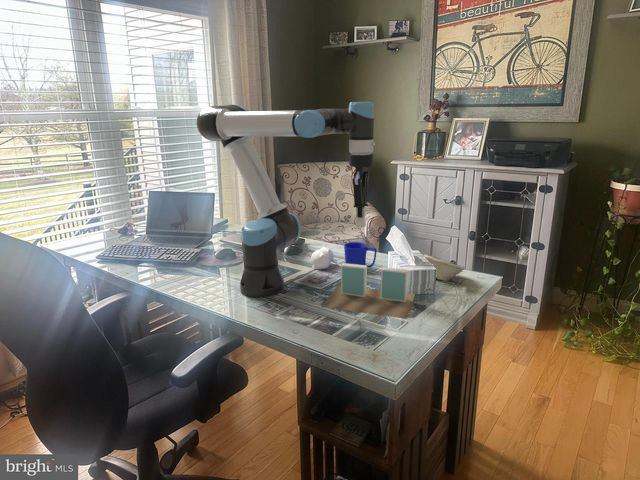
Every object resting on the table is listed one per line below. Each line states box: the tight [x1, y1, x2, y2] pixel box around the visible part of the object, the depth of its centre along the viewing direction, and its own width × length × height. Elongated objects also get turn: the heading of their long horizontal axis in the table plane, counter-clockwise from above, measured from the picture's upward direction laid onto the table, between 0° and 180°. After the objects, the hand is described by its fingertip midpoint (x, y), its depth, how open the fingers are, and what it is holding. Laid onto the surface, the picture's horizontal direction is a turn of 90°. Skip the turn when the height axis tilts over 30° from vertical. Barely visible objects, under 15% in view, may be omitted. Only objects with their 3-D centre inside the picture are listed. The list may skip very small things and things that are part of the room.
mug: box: [343, 241, 378, 268], centre depth 167 cm, size 8×12×10 cm
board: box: [321, 284, 416, 319], centre depth 141 cm, size 26×18×1 cm
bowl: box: [422, 253, 465, 282], centre depth 158 cm, size 15×14×10 cm
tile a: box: [340, 262, 368, 297], centre depth 144 cm, size 8×2×10 cm, turn 71°
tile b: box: [380, 266, 409, 302], centre depth 140 cm, size 8×2×10 cm, turn 71°
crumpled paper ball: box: [310, 246, 340, 271], centre depth 171 cm, size 9×11×12 cm
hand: (360, 226), depth 146 cm, fingers closed
